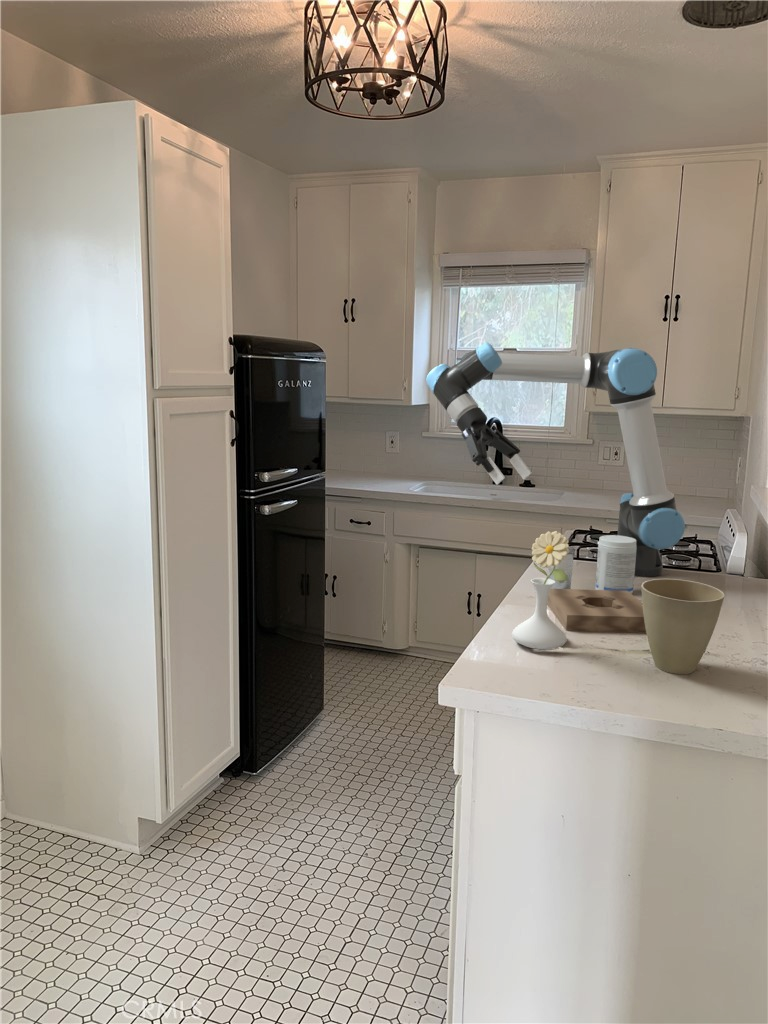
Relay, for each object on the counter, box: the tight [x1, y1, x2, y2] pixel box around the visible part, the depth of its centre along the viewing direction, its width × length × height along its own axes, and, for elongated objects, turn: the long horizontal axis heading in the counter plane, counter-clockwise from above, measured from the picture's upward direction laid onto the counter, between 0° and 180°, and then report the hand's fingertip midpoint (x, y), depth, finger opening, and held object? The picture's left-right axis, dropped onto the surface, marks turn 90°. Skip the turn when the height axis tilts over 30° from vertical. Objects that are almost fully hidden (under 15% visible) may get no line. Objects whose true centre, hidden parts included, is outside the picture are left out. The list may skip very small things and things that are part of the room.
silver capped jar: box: [546, 546, 575, 589], centre depth 188 cm, size 6×6×13 cm
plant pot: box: [641, 578, 725, 675], centre depth 144 cm, size 15×15×16 cm
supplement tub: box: [594, 534, 637, 594], centre depth 193 cm, size 10×10×15 cm
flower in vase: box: [511, 530, 570, 650], centre depth 152 cm, size 13×11×25 cm
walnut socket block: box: [547, 588, 647, 634], centre depth 171 cm, size 20×20×4 cm
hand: (514, 478), depth 187 cm, fingers open, 13 cm apart
